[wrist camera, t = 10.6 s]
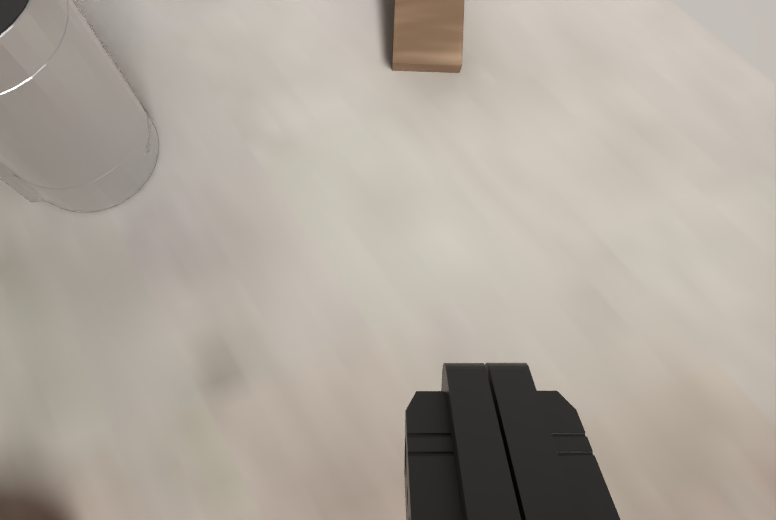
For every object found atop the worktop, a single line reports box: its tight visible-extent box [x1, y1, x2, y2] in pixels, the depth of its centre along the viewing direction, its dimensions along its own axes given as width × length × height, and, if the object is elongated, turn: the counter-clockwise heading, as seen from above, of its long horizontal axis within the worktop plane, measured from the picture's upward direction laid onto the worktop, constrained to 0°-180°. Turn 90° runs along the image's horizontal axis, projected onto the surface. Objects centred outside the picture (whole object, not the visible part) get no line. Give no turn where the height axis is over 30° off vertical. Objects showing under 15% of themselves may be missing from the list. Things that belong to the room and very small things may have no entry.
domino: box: [393, 0, 464, 73], centre depth 48 cm, size 2×5×10 cm
